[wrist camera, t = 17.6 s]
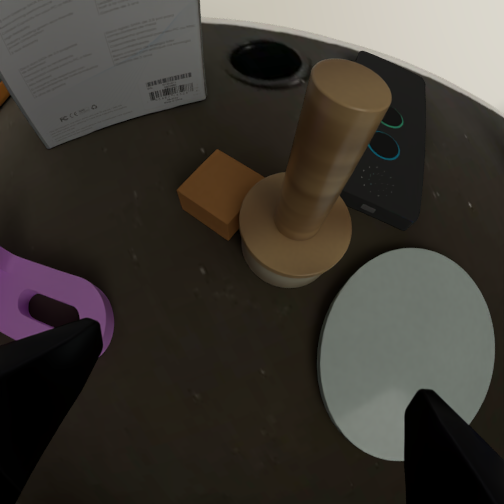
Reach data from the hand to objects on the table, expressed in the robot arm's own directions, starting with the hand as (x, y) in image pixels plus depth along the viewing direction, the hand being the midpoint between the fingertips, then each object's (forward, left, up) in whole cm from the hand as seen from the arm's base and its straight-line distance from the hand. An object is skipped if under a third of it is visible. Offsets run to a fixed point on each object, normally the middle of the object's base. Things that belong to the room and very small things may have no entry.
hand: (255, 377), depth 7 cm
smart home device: (+23, -4, -11) cm, 26 cm away
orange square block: (+9, +6, -11) cm, 15 cm away
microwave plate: (+5, -11, -11) cm, 16 cm away
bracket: (-3, +15, -11) cm, 18 cm away
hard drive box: (+16, +20, -11) cm, 28 cm away
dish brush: (+8, 0, -11) cm, 14 cm away
